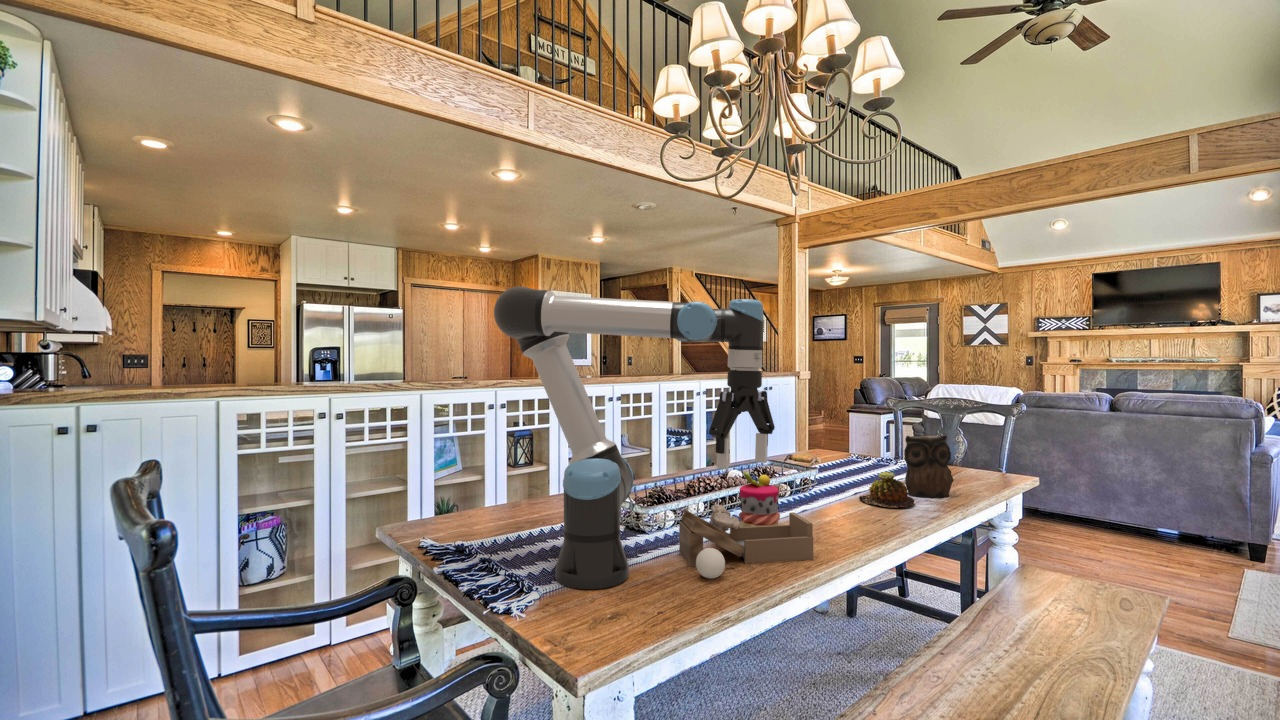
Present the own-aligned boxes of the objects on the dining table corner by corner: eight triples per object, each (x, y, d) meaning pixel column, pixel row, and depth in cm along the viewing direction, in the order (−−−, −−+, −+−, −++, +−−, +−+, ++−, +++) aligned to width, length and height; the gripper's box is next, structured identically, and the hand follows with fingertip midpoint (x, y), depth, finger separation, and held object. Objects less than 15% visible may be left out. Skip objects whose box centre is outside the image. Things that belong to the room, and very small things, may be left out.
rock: (721, 538, 139) (705, 511, 141) (716, 537, 153) (701, 512, 155) (743, 525, 140) (726, 498, 142) (735, 525, 154) (721, 500, 155)
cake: (766, 522, 166) (766, 467, 166) (787, 532, 156) (787, 474, 156) (732, 525, 162) (732, 470, 162) (751, 536, 152) (751, 477, 152)
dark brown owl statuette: (954, 496, 196) (954, 435, 196) (934, 501, 189) (934, 438, 189) (917, 489, 206) (917, 431, 206) (897, 494, 199) (897, 434, 199)
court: (745, 563, 132) (745, 527, 132) (729, 548, 142) (729, 515, 142) (813, 559, 134) (813, 523, 134) (793, 545, 145) (793, 512, 145)
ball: (700, 584, 120) (700, 554, 120) (692, 573, 126) (692, 544, 126) (729, 582, 121) (728, 552, 121) (720, 571, 127) (719, 543, 127)
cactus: (853, 495, 198) (853, 466, 198) (904, 497, 196) (904, 467, 196) (866, 508, 181) (866, 476, 181) (922, 510, 179) (922, 477, 179)
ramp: (689, 566, 130) (689, 521, 130) (679, 552, 140) (679, 510, 140) (745, 562, 132) (745, 518, 132) (731, 549, 142) (731, 507, 142)
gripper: (721, 369, 122) (718, 474, 122) (791, 370, 138) (789, 462, 138) (694, 368, 127) (691, 468, 127) (764, 369, 144) (762, 457, 144)
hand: (742, 465), depth 133 cm, fingers open, 13 cm apart
